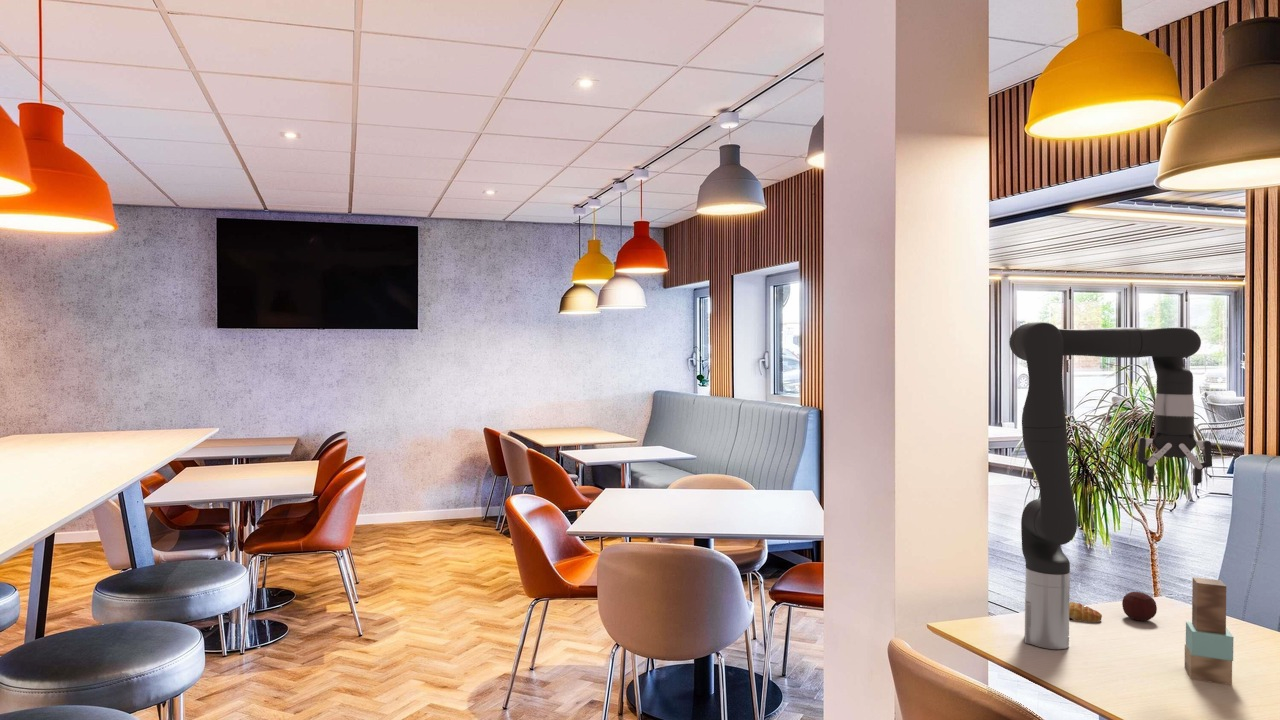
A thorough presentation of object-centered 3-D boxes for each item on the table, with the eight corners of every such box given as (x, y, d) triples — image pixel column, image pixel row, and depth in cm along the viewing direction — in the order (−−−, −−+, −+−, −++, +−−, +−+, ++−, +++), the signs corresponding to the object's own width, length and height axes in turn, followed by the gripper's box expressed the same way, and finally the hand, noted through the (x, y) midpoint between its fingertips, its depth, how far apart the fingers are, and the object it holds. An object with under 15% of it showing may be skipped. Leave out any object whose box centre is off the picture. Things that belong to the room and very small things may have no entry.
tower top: (1192, 655, 164) (1192, 631, 164) (1185, 644, 170) (1185, 621, 170) (1233, 661, 161) (1233, 636, 161) (1225, 649, 167) (1225, 626, 167)
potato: (1132, 613, 206) (1132, 586, 206) (1163, 622, 199) (1163, 594, 199) (1115, 617, 203) (1115, 590, 203) (1145, 626, 196) (1146, 598, 196)
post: (1196, 630, 164) (1197, 582, 164) (1192, 623, 168) (1192, 577, 169) (1225, 634, 162) (1226, 586, 162) (1220, 627, 166) (1220, 580, 166)
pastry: (1103, 619, 202) (1103, 604, 202) (1099, 626, 196) (1099, 611, 196) (1062, 611, 208) (1062, 597, 207) (1057, 618, 202) (1058, 603, 202)
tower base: (1190, 679, 164) (1191, 655, 164) (1184, 667, 170) (1184, 644, 170) (1231, 685, 161) (1232, 661, 161) (1223, 673, 167) (1224, 650, 167)
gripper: (1140, 413, 181) (1139, 483, 181) (1215, 416, 175) (1214, 488, 175) (1135, 411, 188) (1135, 479, 188) (1208, 414, 181) (1207, 483, 181)
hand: (1173, 483), depth 181 cm, fingers open, 8 cm apart
